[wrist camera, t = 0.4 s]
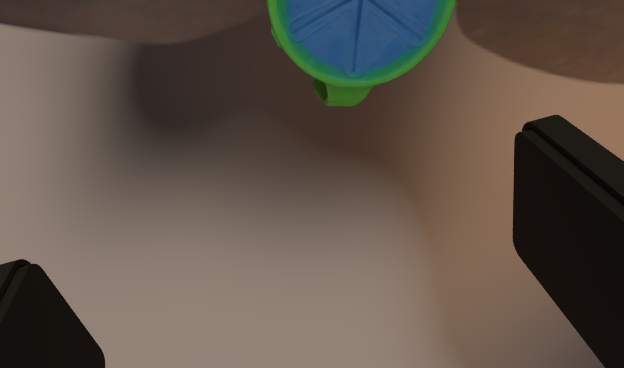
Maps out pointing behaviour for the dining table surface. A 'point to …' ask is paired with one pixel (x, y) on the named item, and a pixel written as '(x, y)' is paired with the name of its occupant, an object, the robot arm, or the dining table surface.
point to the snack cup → (356, 40)
